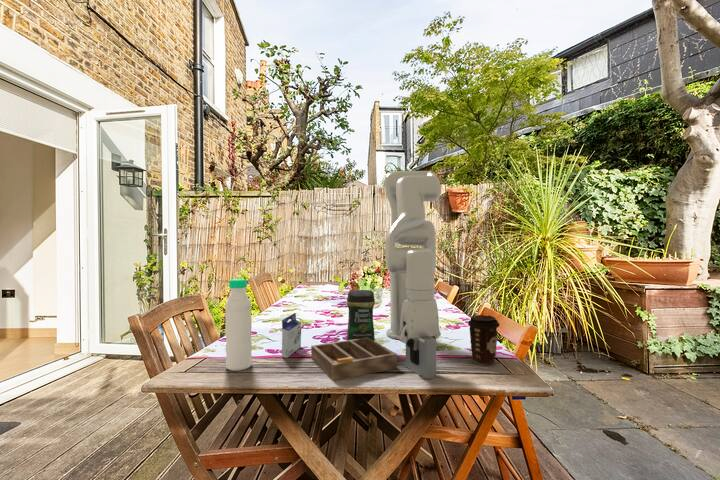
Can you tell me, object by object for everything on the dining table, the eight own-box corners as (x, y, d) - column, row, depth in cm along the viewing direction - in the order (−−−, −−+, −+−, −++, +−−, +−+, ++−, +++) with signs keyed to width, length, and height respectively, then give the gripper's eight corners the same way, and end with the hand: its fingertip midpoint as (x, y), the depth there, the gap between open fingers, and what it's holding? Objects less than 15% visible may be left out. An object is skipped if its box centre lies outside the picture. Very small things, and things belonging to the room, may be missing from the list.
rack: (367, 349, 117) (367, 334, 117) (396, 368, 101) (396, 350, 101) (311, 358, 109) (311, 342, 109) (333, 380, 93) (333, 361, 93)
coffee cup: (499, 358, 108) (499, 315, 108) (500, 368, 101) (500, 321, 100) (468, 355, 111) (468, 313, 111) (467, 364, 103) (467, 319, 103)
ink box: (288, 358, 110) (288, 320, 110) (281, 357, 110) (280, 320, 110) (302, 346, 121) (301, 312, 121) (295, 346, 122) (295, 312, 121)
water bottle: (237, 373, 98) (236, 281, 98) (220, 368, 102) (219, 280, 101) (257, 365, 104) (256, 278, 104) (240, 360, 108) (239, 277, 107)
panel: (414, 364, 104) (414, 330, 104) (436, 377, 95) (436, 339, 95) (405, 366, 102) (405, 331, 102) (426, 379, 93) (426, 340, 93)
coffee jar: (347, 348, 119) (346, 292, 118) (346, 341, 127) (345, 288, 126) (376, 347, 119) (376, 291, 119) (373, 340, 127) (373, 288, 127)
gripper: (435, 290, 105) (436, 353, 105) (387, 295, 98) (387, 362, 98) (453, 294, 98) (453, 361, 99) (402, 299, 91) (402, 372, 92)
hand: (420, 361), depth 99 cm, fingers closed on panel, 3 cm apart
